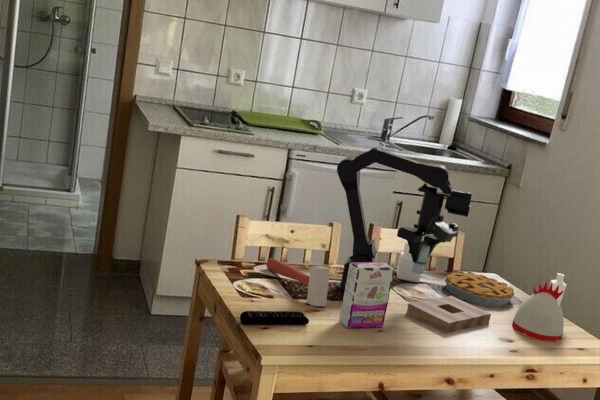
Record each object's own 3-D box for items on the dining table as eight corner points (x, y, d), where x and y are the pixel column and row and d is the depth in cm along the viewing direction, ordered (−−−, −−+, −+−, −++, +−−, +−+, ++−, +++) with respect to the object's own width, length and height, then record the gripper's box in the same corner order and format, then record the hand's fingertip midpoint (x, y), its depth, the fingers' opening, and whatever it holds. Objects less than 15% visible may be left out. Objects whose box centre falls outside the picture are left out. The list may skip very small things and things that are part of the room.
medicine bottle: (417, 276, 249) (425, 241, 246) (419, 283, 242) (427, 247, 239) (396, 272, 249) (403, 237, 247) (396, 278, 242) (404, 242, 240)
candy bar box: (373, 320, 202) (385, 261, 199) (383, 327, 198) (396, 268, 195) (337, 321, 197) (349, 261, 193) (347, 329, 193) (359, 267, 189)
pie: (429, 287, 240) (432, 272, 239) (467, 280, 256) (471, 266, 255) (487, 313, 226) (491, 297, 225) (525, 304, 241) (528, 289, 240)
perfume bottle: (556, 321, 229) (569, 274, 226) (556, 325, 225) (569, 278, 221) (540, 317, 230) (553, 270, 227) (540, 321, 226) (552, 273, 223)
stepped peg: (418, 275, 215) (424, 248, 213) (407, 270, 218) (413, 243, 216) (427, 273, 218) (433, 247, 216) (416, 268, 221) (422, 242, 219)
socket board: (446, 333, 202) (448, 323, 201) (406, 313, 212) (408, 303, 211) (488, 323, 216) (491, 313, 215) (449, 305, 226) (451, 295, 225)
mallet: (266, 248, 228) (319, 268, 202) (277, 248, 229) (330, 268, 204) (263, 283, 229) (315, 307, 203) (273, 283, 230) (326, 307, 205)
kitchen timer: (560, 346, 209) (574, 295, 205) (510, 331, 213) (522, 281, 210) (562, 330, 221) (575, 282, 218) (514, 317, 226) (526, 269, 222)
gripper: (433, 218, 202) (421, 274, 205) (473, 216, 215) (461, 268, 218) (401, 207, 210) (390, 260, 213) (442, 205, 222) (431, 256, 226)
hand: (419, 261), depth 217 cm, fingers closed on stepped peg, 4 cm apart
